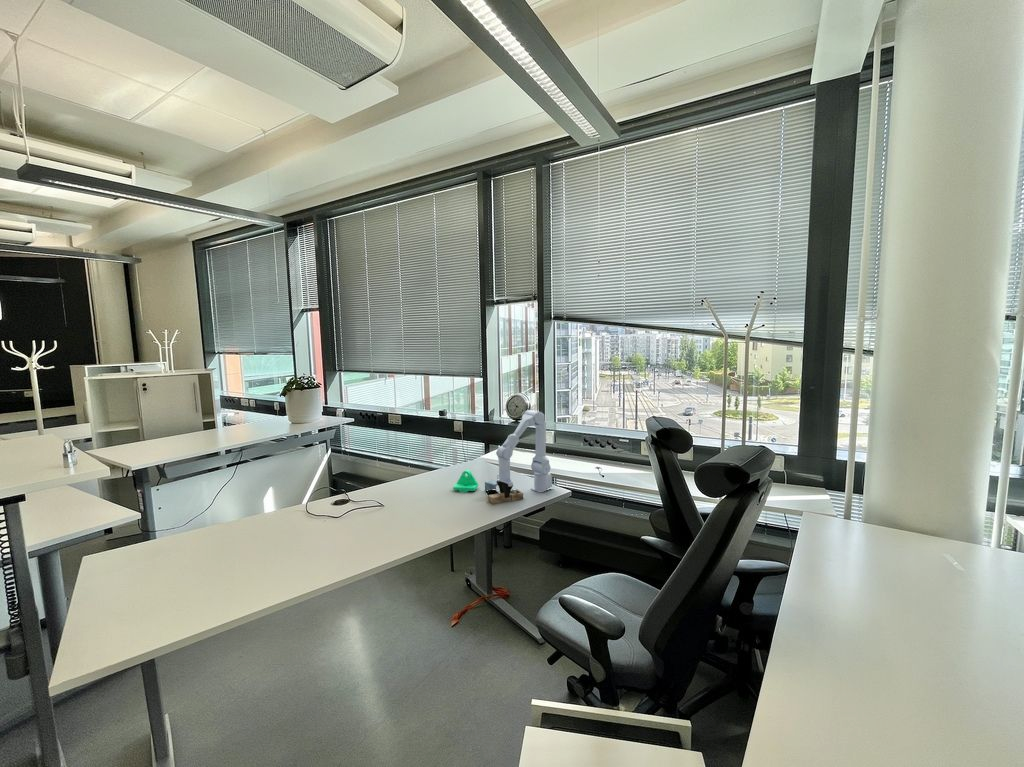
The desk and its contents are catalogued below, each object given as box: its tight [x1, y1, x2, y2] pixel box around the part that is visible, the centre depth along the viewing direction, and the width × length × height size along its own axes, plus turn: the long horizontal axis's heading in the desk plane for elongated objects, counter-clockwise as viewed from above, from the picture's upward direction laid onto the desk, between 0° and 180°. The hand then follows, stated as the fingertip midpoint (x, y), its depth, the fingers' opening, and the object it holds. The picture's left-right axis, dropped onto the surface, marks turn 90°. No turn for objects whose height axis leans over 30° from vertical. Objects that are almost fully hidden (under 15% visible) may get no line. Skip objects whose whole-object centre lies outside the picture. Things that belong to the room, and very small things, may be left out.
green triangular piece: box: [452, 469, 479, 493], centre depth 243 cm, size 12×8×10 cm, turn 78°
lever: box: [487, 488, 524, 505], centre depth 227 cm, size 17×6×3 cm, turn 116°
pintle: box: [511, 488, 517, 494], centre depth 230 cm, size 2×2×4 cm
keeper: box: [484, 479, 499, 492], centre depth 239 cm, size 7×5×5 cm
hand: (504, 496), depth 227 cm, fingers closed on lever, 4 cm apart
